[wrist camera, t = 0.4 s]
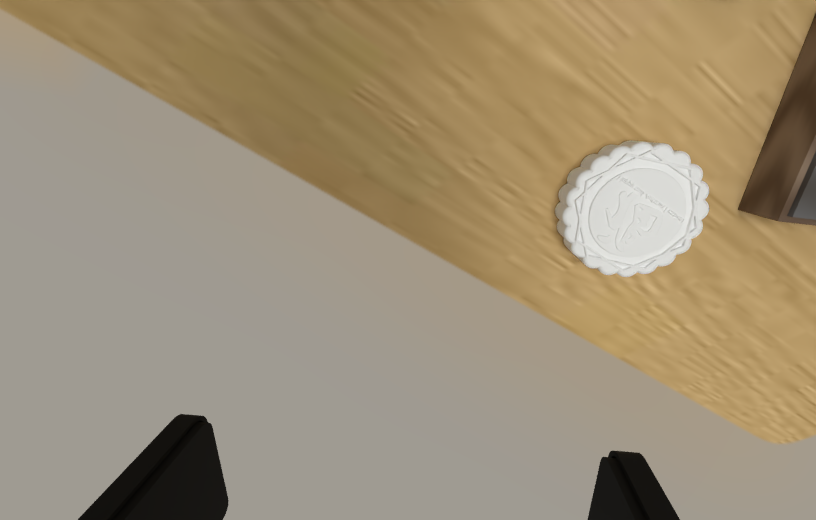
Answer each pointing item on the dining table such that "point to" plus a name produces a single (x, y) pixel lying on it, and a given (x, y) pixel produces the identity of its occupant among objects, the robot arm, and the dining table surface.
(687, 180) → the mooncake
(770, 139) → the walnut base
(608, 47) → the dining table surface
